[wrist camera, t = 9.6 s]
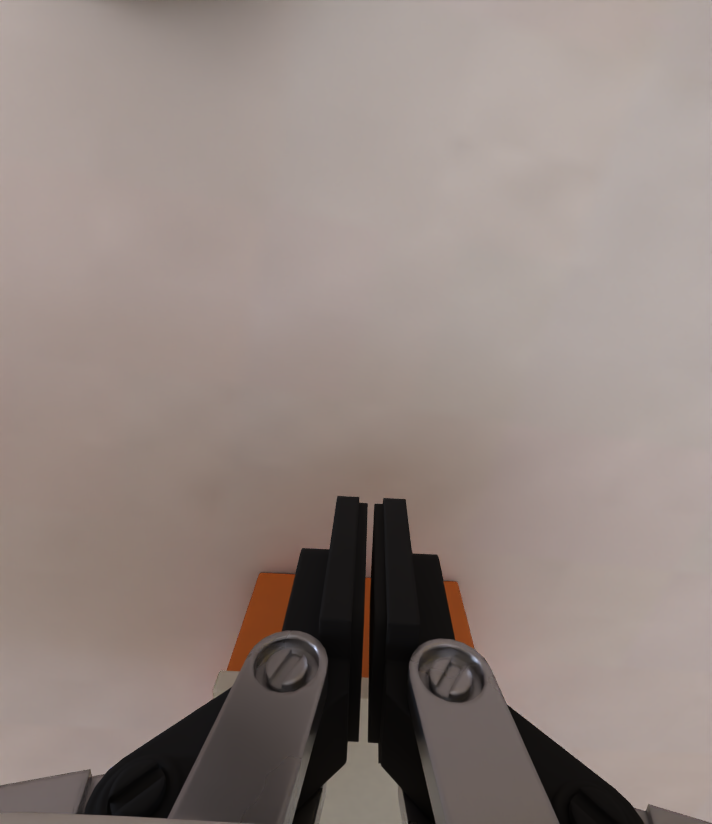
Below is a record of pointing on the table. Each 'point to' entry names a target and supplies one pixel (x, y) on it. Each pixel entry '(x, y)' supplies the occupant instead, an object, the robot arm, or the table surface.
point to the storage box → (362, 774)
